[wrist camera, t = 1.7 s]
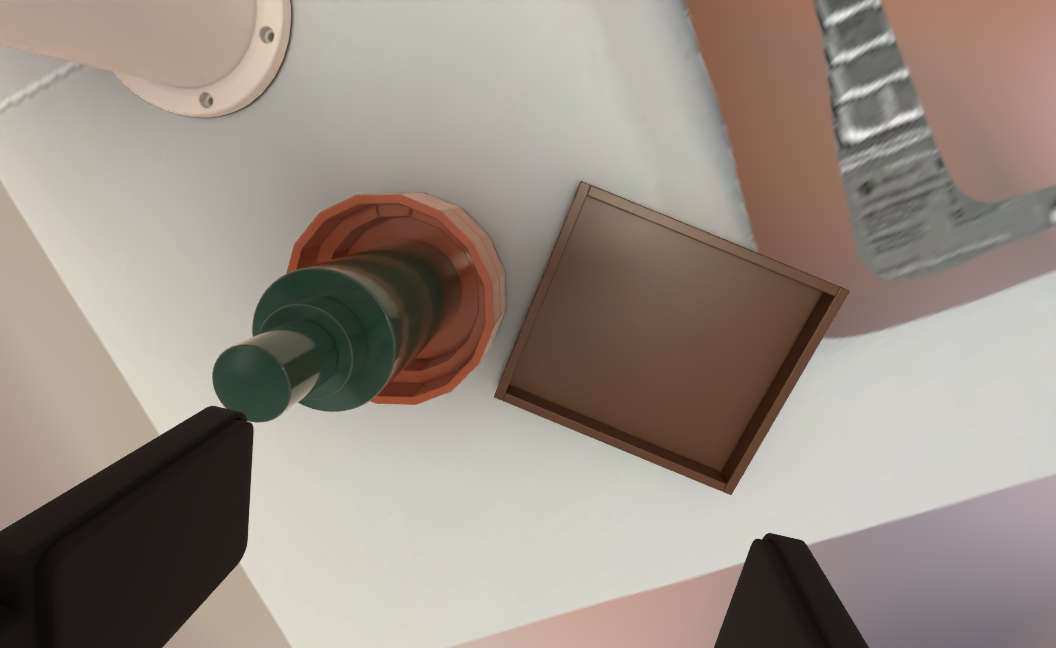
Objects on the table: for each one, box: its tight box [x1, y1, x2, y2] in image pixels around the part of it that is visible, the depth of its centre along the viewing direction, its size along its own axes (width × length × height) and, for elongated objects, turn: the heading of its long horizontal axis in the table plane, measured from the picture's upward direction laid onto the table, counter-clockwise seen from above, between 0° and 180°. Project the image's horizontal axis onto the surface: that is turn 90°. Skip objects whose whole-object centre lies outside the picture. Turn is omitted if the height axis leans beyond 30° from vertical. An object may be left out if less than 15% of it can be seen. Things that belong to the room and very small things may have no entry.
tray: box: [494, 181, 849, 495], centre depth 33 cm, size 16×14×2 cm
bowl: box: [287, 193, 506, 405], centre depth 32 cm, size 12×12×5 cm
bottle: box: [212, 239, 462, 422], centre depth 26 cm, size 6×6×17 cm
